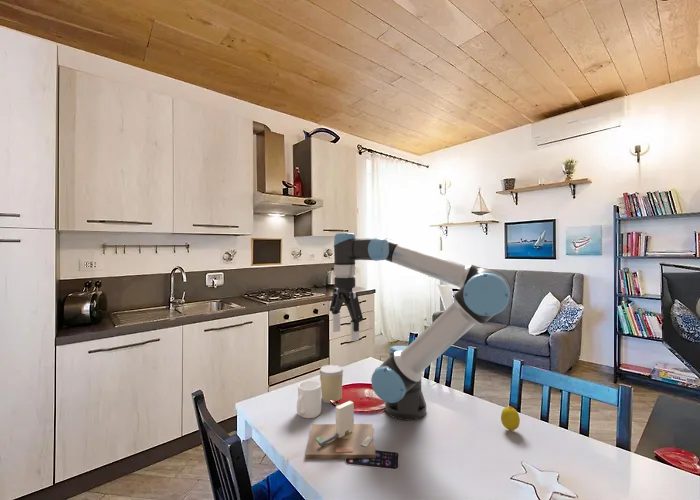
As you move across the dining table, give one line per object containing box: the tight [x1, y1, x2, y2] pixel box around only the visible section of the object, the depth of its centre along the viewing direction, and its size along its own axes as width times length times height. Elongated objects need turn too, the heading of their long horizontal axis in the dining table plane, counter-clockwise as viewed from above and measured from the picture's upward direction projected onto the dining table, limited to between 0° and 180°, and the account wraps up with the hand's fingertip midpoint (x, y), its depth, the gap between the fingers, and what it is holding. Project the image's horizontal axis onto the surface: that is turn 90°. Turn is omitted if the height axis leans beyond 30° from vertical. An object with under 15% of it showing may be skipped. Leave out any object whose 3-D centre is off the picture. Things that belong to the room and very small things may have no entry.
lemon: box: [500, 405, 521, 432], centre depth 108 cm, size 6×6×8 cm
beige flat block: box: [319, 400, 355, 446], centre depth 102 cm, size 2×13×9 cm, turn 132°
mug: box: [296, 380, 322, 419], centre depth 119 cm, size 12×8×10 cm
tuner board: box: [305, 423, 376, 460], centre depth 102 cm, size 20×16×1 cm
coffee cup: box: [319, 364, 344, 404], centre depth 131 cm, size 9×9×12 cm
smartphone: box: [344, 449, 400, 471], centre depth 95 cm, size 8×1×15 cm
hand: (345, 335), depth 118 cm, fingers open, 13 cm apart
